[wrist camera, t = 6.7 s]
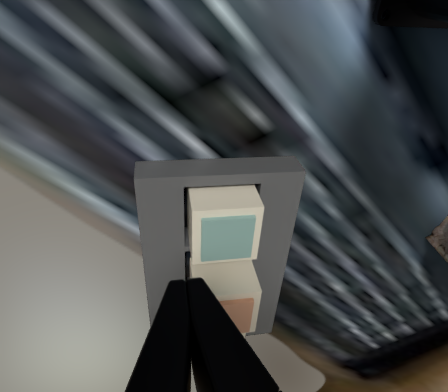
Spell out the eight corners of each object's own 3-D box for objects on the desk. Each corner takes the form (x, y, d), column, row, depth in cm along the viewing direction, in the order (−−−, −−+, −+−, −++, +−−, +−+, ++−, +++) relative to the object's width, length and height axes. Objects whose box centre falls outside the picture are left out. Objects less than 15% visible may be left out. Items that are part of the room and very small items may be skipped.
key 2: (249, 252, 23) (263, 295, 20) (243, 292, 25) (256, 335, 22) (189, 257, 22) (195, 302, 19) (189, 298, 24) (195, 343, 21)
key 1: (250, 176, 21) (265, 210, 18) (244, 225, 24) (258, 262, 21) (186, 179, 21) (192, 214, 18) (187, 229, 23) (192, 268, 20)
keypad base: (294, 156, 22) (306, 171, 20) (264, 313, 31) (271, 332, 29) (135, 161, 20) (133, 178, 18) (152, 326, 29) (152, 347, 27)
